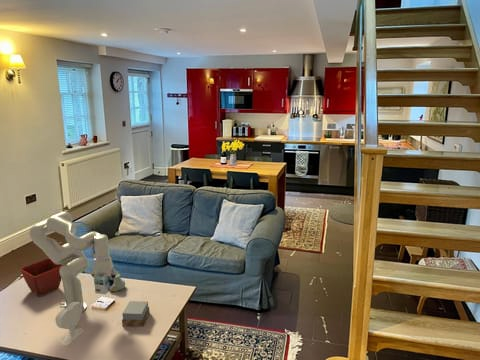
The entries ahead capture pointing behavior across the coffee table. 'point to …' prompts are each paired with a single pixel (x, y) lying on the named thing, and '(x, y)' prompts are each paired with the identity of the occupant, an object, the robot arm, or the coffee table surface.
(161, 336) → the coffee table surface
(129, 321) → the tower base block
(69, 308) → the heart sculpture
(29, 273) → the plant pot
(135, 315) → the tower top block
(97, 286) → the light bulb box
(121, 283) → the air freshener
